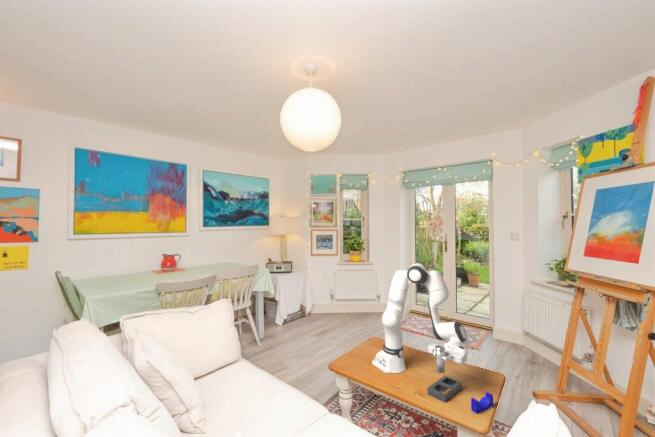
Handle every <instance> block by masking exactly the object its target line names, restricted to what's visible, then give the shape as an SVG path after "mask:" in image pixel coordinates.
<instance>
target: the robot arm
mask: <svg viewBox="0 0 655 437" xmlns="http://www.w3.org/2000/svg"><path fill="white" fill-rule="evenodd" d="M411 283H412V284H425V285H426V288H427V291H428V295H429V298H428V300H427V306H428V310H429V316H430V320H431V324H432V333H433V335H434V337H435V338H436V339H437V340H438V341H446V340H449V341H447V342H446V343H444V344H443V346H444V347H445V351H444V357H443V360H444V361H445V362H448V361H452V362H454V363H457V364H459V365H460V364H461V365H463V364H465V363H466V362H467V360H468V350H469V348H470V346H471V343H470V342H471V341H470V339H469V338H468V337H467V332H466V329H465V327H464V326H463V325H462V323H460V322H459V321H449V322H442V321H441V318H440V312H439V306H441V305H442V304H444V303H446V301H447V300H448V299H449V296H450V291H449V289H448V286H447V284H446V281H445V280H444V277H443V276H442V274H441V273H440V271H438V270H436V269H435V270H427V267H426V266H425V265H424V264H423V263H421V262H414V263H412V264H411V265H410V266H409V267H408V268H407V269H406V270H403V269H398V270H396V272H394V274H393V277H392V280H391V284H390V289H389V292H388V298H387V304H386V308H385V310H384V312H383V313H382V316H381V317H382V318H381V322H382V326H383V331H384V344H382V345H381V348H382V349H381V350H379V351H378V352H377V353H376V354H375V358H374V359H372V362H371V365H373V366H375V367H376V368H377V369H378V370H381V371H382V372H383V373H386V374H390V373H391V374H392V373H393V374H400V373H403V372H405V371H406V369H407V367H406V363H405V359H404V345H403V333H402V328H401V327H402V326H401V322H402V321H401V320H402V318H403V315H404V312H405V305H406V301H407V300H406V299H407V296H408V292H409V288H410V285H411ZM436 345H440V343H439V344H438V343H432V344H430V345H428V346H427V351H428V353H430V354H432V356H433V358H436V349H435V346H436Z"/></svg>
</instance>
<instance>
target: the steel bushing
mask: <svg viewBox="0 0 655 437" xmlns="http://www.w3.org/2000/svg"><path fill="white" fill-rule="evenodd" d="M435 349H436V357H435V362H436V372H437V373H439V374H444V373H445V372H446V367H445V362H446V361H444V360H443V357H444V351H445V347H444V345H442V344H439V345H436V346H435Z"/></svg>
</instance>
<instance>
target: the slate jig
mask: <svg viewBox="0 0 655 437" xmlns="http://www.w3.org/2000/svg"><path fill="white" fill-rule="evenodd" d="M462 389H463V382H462V381H459V380H457V379H455V378H453V377H450V376H448V375H443V376H442V377H441V378H438V380H436V381H434V382H433V383H432V384H430V385H429V386H428V387H427V391H426V392H427V395H428V396H430V397H432V398H434V399H437V400H438V401H441V402H442V403H446V402H448V401H449V400H450V399H451V398H453V397H454V396H455V395H456V394H457V393H459V392H460V391H461V390H462Z"/></svg>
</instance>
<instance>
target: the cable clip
mask: <svg viewBox="0 0 655 437" xmlns="http://www.w3.org/2000/svg"><path fill="white" fill-rule="evenodd" d="M484 395H485V396H483V397H481V398H480V399H479V400H478V399H476V398H474V397H472V398H470V404H471V406H470V408H471V409H470V410H471V412H472V413H474V414H476V415H478V414H480V413H483V412H485V411H487V410H490V409H491V408H490V407H491V406H492V408H494V395H493V394H491V393H490V392H488V391H486V392H485V394H484ZM489 408H490V409H489ZM484 410H485V411H484ZM482 411H483V412H482Z"/></svg>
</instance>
